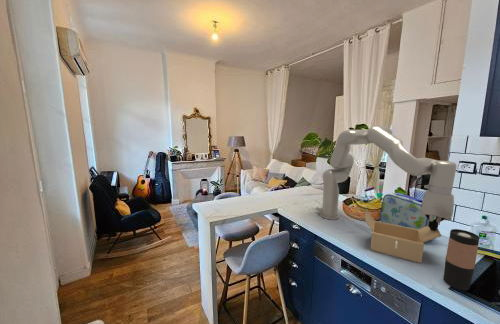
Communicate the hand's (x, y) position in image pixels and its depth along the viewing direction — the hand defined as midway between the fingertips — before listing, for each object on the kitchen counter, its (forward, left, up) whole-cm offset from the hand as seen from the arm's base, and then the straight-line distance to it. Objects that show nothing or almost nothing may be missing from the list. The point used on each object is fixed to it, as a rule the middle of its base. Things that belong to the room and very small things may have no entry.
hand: (432, 229), depth 95 cm
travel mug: (+6, -16, -14) cm, 22 cm away
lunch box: (-7, +24, -14) cm, 28 cm away
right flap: (-1, 0, -2) cm, 2 cm away
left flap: (-24, 0, -1) cm, 24 cm away
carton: (-13, -1, -13) cm, 19 cm away
